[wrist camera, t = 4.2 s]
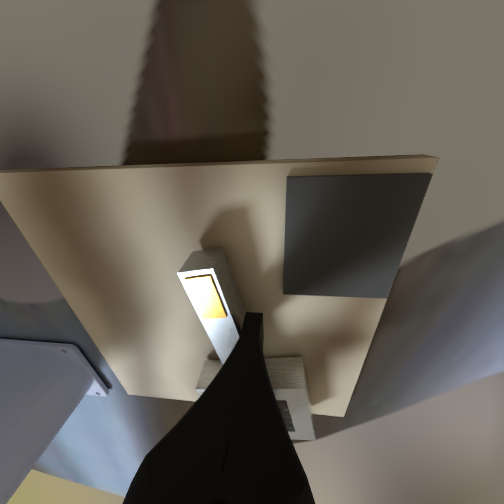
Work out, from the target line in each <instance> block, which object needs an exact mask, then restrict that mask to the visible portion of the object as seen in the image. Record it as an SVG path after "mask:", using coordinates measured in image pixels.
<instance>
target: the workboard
mask: <svg viewBox="0 0 504 504" xmlns="http://www.w3.org/2000/svg"><path fill="white" fill-rule="evenodd" d="M438 159H439V158H438V157H433V156H428V155H397V156H369V157H344V158H343V157H342V158H314V159H287V160H260V161H232V162H205V163H178V164H150V165H123V166H96V167H69V168H41V169H14V170H1V171H0V201H1V202H2V204H3V206H4V207H5V209H6V210H7V211H8V213H9V215H10V216H11V218H12V219H13V221H14V222H15V224H16V225H17V227H18V228H19V230H20V231H21V233H22V234H23V236H24V237H25V239H26V240H27V242H28V243H29V245H30V246H31V248H32V249H33V251H34V252H35V254H36V255H37V257H38V259H39V260H40V262H41V263H42V264H43V266H44V268H45V269H46V271H47V272H48V274H49V275H50V277H51V278H52V280H53V281H54V283H55V284H56V286H57V287H58V289H59V290H60V292H61V293H62V295H63V296H64V298H65V299H66V301H67V302H68V304H69V305H70V307H71V308H72V310H73V311H74V313H75V315H76V316H77V318H78V319H79V321H80V322H81V324H82V325H83V327H84V328H85V330H86V331H87V333H88V334H89V336H90V337H91V339H92V340H93V342H94V343H95V345H96V346H97V348H98V349H99V351H100V352H101V354H102V355H103V357H104V358H105V360H106V361H107V363H108V364H109V366H110V367H111V369H112V371H113V372H114V374H115V375H116V377H117V378H118V380H119V381H120V383H121V384H122V386H123V387H124V389H125V390H126V392H127V393H128V394H130V395H140V396H149V397H159V398H168V399H178V400H188V401H197V400H198V398H199V397H200V396H199V394H198V393H197V391H196V390H195V389H196V386H197V382H198V379H199V376H200V373H201V370H202V367H203V364H204V361H205V360H220V358H219V356H218V354H217V352H216V350H215V348H214V346H213V344H212V342H211V340H210V338H209V336H208V334H207V332H206V330H205V328H204V326H203V324H202V322H201V320H200V318H199V316H198V314H197V312H196V310H195V308H194V306H193V304H192V302H191V300H190V298H189V296H188V294H187V292H186V290H185V288H184V285H183V283H182V281H181V279H180V277H179V275H178V272H179V270H180V269H181V267H182V266H183V264H184V263H185V262H186V260H187V259H188V257H189V256H190V254H191V253H192V252H193V251H199V250H205V249H212V248H218V247H223V248H224V251H225V254H226V257H227V260H228V263H229V266H230V269H231V272H232V275H233V277H234V280H235V283H236V286H237V289H238V292H239V295H240V298H241V301H242V304H243V307H244V310H245V313H246V312H257V313H263V326H264V343H263V355H264V358H280V357H302V359H303V364H304V369H305V374H306V380H307V385H308V390H309V396H310V401H311V406H312V413H313V414H321V415H330V416H340V417H344V415H345V412H346V409H347V406H348V404H349V401H350V398H351V396H352V393H353V390H354V387H355V385H356V382H357V379H358V377H359V374H360V371H361V368H362V366H363V363H364V360H365V358H366V355H367V352H368V349H369V347H370V344H371V341H372V338H373V336H374V333H375V330H376V328H377V325H378V322H379V319H380V317H381V314H382V311H383V309H384V306H385V303H386V300H387V298H388V295H389V292H390V290H391V287H392V284H393V281H394V279H395V276H396V273H397V270H398V268H399V265H400V262H401V260H402V257H403V254H404V251H405V248H406V246H407V243H408V241H409V238H410V235H411V232H412V229H413V227H414V224H415V221H416V219H417V216H418V213H419V210H420V208H421V205H422V202H423V199H424V197H425V194H426V191H427V189H428V186H429V183H430V181H431V178H432V175H433V172H434V170H435V167H436V164H437V162H438ZM277 401H286V400H277Z"/></svg>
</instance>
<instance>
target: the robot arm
mask: <svg viewBox="0 0 504 504" xmlns="http://www.w3.org/2000/svg"><path fill="white" fill-rule="evenodd" d="M263 343H264V326H263V313H257V312H246V314H245V317H244V321H243V326H242V333H241V335H240V337H239V339H238V341H237V342H236V344H235V346H234V348H233V350H232V351H231V353H230V355H229V356H228V358H227V359H226V361H225V363H224V364H223V366H222V367H221V369H220V370H219V372H218V373H217V375H216V376H215V377H214V379H213V380H212V381H211V383H210V384H209V385H208V387H207V388H206V389H205V391H204V392H203V393H202V395H201V396H200V397H199V398H198V400H197V401H196V402H195V403H194V404H193V406H192V407H191V408H190V409H189V410H188V411H187V412H186V414H185V415H184V416H183V417H182V418H181V419H180V420H179V421H178V423H177V424H176V425H175V426H174V427H173V428H172V429H171V430H170V431H169V432H168V433H167V434H166V435H165V436H164V437H163V438H162V439H161V440H160V441H159V442H158V444H157V445H156V446H155V447H154V448H153V449H152V450H151V451H150V452H149V453H148V454H147V455H146V456H145V458H144V460H143V461H142V463H141V465H140V467H139V469H138V471H137V473H136V475H135V476H134V478H133V480H132V482H131V485H130V487H129V489H128V492H127V494H126V497H125V499H124V501H123V504H315V501H314V498H313V495H312V492H311V489H310V486H309V482H308V479H307V476H306V474H305V471H304V469H303V467H302V465H301V462H300V460H299V458H298V455H297V453H296V451H295V448H294V446H293V443H292V441H291V438H290V436H289V433H288V431H287V428H286V426H285V423H284V420H283V417H282V415H281V412H280V409H279V407H278V404H277V401H276V398H275V395H274V392H273V388H272V385H271V382H270V379H269V375H268V371H267V368H266V363H265V359H264V355H263ZM85 394H86V395H95V396H107V395H108V394H109V390H108V388H107V387H106V386H105V384H104V383H103V382H102V380H101V379H100V377H99V376H98V375H97V373H96V372H95V371H94V369H93V368H92V367H91V365H90V364H89V363H88V361H87V360H86V358H85V357H84V356H83V354H82V353H81V352H80V350H79V349H78V348H77V347H76V346H75V345H73V344H63V343H50V342H37V341H24V340H11V339H0V504H6V503H7V502H8V501H9V499H10V498H11V497H12V495H13V494H14V492H15V491H16V490H17V488H18V487H19V486H20V484H21V483H22V481H23V480H24V479H25V477H26V476H27V474H28V473H29V472H30V470H31V469H32V468H33V466H34V465H35V463H36V462H37V461H38V459H39V458H40V457H41V455H42V454H43V452H44V451H45V450H46V448H47V447H48V445H49V444H50V443H51V441H52V440H53V439H54V437H55V436H56V434H57V433H58V432H59V430H60V429H61V428H62V426H63V425H64V423H65V422H66V421H67V419H68V418H69V416H70V415H71V414H72V412H73V411H74V410H75V408H76V407H77V405H78V404H79V403H80V401H81V400H82V399H83V397H84V396H85Z"/></svg>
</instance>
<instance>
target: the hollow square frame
mask: <svg viewBox="0 0 504 504" xmlns="http://www.w3.org/2000/svg"><path fill="white" fill-rule="evenodd" d="M178 275H179V277H180V279H181V281H182V283H183V285H184V288H185V290H186V292H187V294H188V296H189V298H190V300H191V302H192V304H193V306H194V308H195V310H196V312H197V314H198V316H199V318H200V320H201V322H202V324H203V326H204V328H205V330H206V332H207V334H208V336H209V338H210V340H211V342H212V344H213V346H214V348H215V350H216V352H217V354H218V356H219V358H220V360H205V361H204V364H203V367H202V370H201V373H200V376H199V379H198V382H197V386H196V389H195V390H196V391H197V393H198V394H199V396H201V395H202V393H203V392H204V391H205V389H206V388H207V387H208V385H209V384H210V383H211V381H212V380H213V379H214V377H215V376H216V375H217V373H218V372H219V370H220V369H221V367H222V366H223V364H224V363H225V361H226V359H227V358H228V356H229V355H230V353H231V351H232V350H233V348H234V346H235V344H236V342H237V341H238V339H239V337H240V335H241V333H242V326H243V321H244V317H245V314H246V313H245V310H244V307H243V304H242V301H241V298H240V295H239V292H238V289H237V286H236V283H235V280H234V277H233V275H232V272H231V269H230V266H229V263H228V260H227V257H226V254H225V251H224V248H223V247H218V248H212V249H205V250H199V251H193V252H192V253H191V254H190V256H189V257H188V259H187V260H186V262H185V263H184V264H183V266H182V267H181V269H180V270H179V272H178ZM264 359H265V363H266V368H267V371H268V375H269V379H270V382H271V385H272V388H273V392H274V395H275V398H276V400H286V401H277V404H278V407H279V409H280V412H281V415H282V417H283V420H284V423H285V426H286V428H287V431H288V433H289V436H290V438H291V439H298V440H316V439H315V430H314V422H313V413H312V406H311V401H310V396H309V390H308V385H307V380H306V374H305V369H304V364H303V359H302V357H280V358H264Z"/></svg>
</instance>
